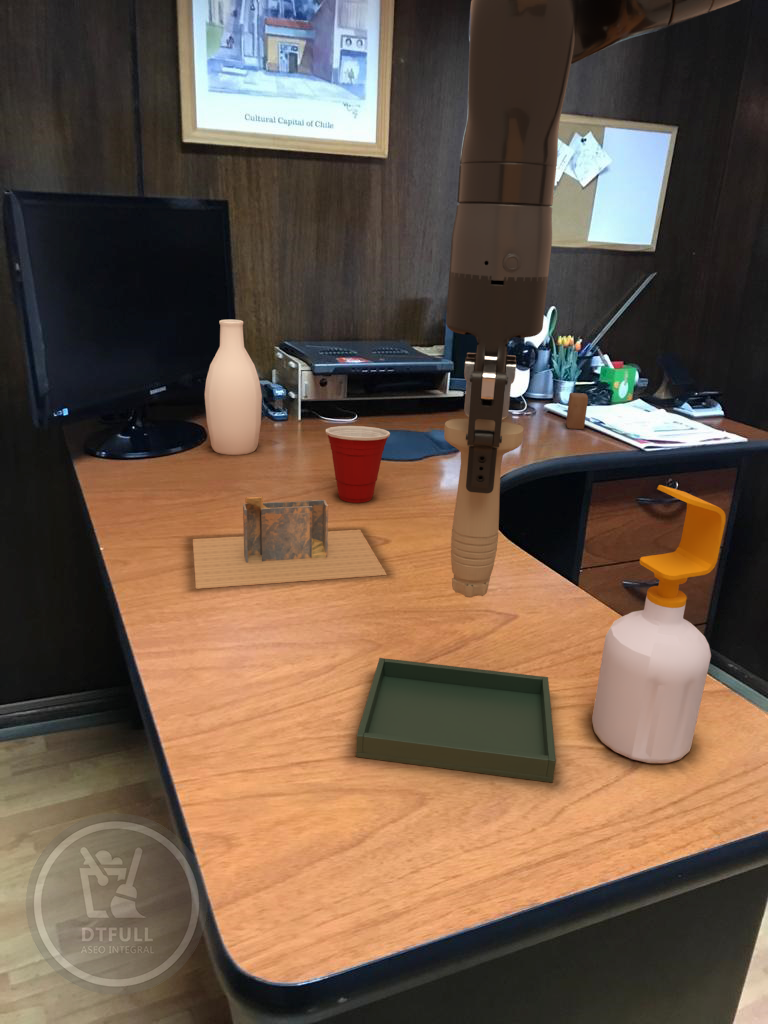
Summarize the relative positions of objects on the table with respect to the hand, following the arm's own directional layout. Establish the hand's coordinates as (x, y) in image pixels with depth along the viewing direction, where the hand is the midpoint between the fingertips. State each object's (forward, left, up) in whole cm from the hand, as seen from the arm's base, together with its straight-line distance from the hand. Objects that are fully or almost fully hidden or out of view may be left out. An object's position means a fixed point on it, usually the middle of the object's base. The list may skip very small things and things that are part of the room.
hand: (480, 479), depth 65 cm
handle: (0, 0, -11) cm, 11 cm away
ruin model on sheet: (+26, -34, -25) cm, 49 cm away
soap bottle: (-17, -2, -25) cm, 30 cm away
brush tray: (0, 0, -24) cm, 24 cm away
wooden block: (-21, -124, -25) cm, 128 cm away
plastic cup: (+21, -61, -25) cm, 69 cm away
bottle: (+50, -83, -25) cm, 100 cm away
